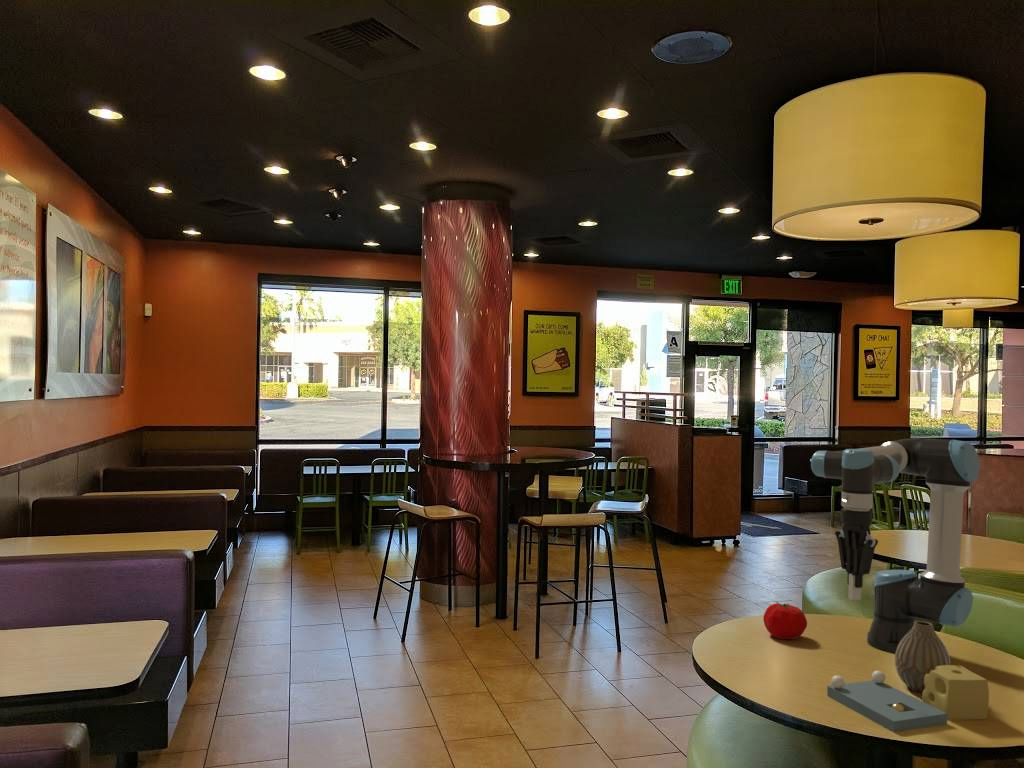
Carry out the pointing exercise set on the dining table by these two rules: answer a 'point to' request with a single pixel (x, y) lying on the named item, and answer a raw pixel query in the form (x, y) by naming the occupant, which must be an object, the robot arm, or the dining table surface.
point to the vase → (919, 655)
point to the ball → (898, 707)
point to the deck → (887, 706)
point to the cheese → (957, 692)
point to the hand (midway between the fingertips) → (854, 598)
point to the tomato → (784, 621)
